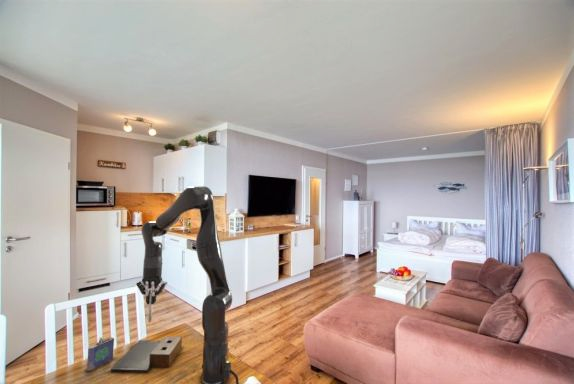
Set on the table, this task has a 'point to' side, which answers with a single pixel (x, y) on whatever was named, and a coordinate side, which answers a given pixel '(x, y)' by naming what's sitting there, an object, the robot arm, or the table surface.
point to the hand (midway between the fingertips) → (151, 303)
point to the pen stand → (165, 351)
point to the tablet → (137, 358)
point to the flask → (100, 353)
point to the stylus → (150, 309)
